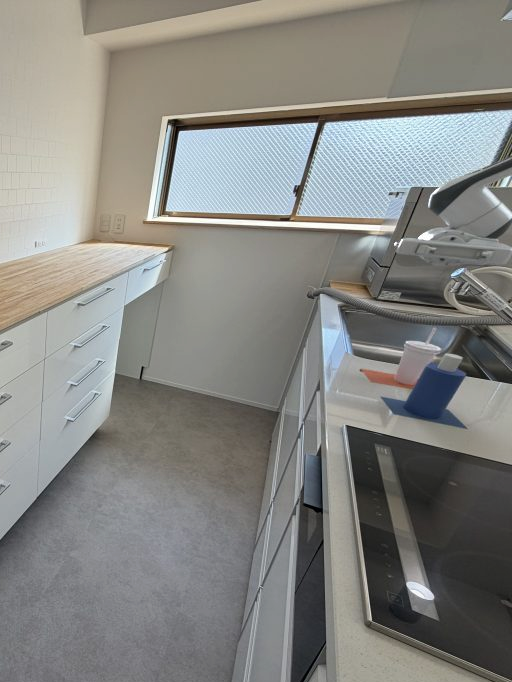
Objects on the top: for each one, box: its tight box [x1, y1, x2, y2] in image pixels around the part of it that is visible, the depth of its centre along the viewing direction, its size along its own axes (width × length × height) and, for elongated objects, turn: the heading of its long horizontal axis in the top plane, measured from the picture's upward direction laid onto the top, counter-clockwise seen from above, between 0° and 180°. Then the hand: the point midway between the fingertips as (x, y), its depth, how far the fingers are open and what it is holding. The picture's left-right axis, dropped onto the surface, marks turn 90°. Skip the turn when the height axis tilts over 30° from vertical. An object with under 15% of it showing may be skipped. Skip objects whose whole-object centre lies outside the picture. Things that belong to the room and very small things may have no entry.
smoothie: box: [394, 327, 442, 385], centre depth 99 cm, size 6×6×14 cm
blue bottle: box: [403, 353, 467, 419], centre depth 85 cm, size 6×6×13 cm
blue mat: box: [380, 395, 469, 430], centre depth 89 cm, size 12×9×1 cm
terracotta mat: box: [359, 368, 419, 390], centre depth 103 cm, size 13×9×1 cm
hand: (457, 253), depth 98 cm, fingers open, 8 cm apart
